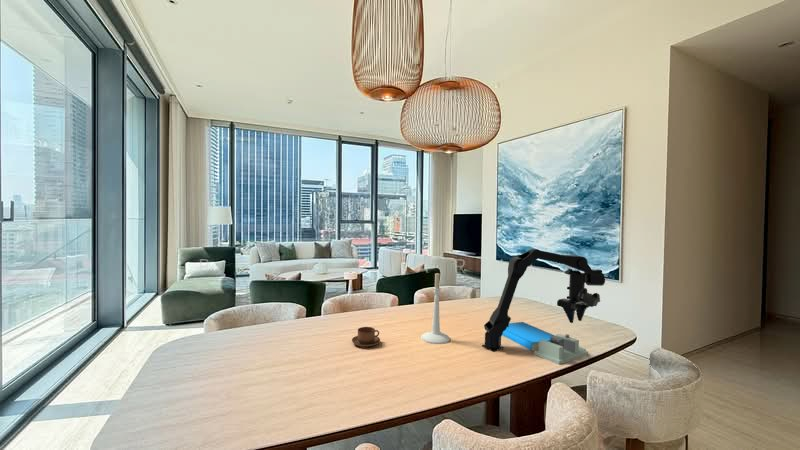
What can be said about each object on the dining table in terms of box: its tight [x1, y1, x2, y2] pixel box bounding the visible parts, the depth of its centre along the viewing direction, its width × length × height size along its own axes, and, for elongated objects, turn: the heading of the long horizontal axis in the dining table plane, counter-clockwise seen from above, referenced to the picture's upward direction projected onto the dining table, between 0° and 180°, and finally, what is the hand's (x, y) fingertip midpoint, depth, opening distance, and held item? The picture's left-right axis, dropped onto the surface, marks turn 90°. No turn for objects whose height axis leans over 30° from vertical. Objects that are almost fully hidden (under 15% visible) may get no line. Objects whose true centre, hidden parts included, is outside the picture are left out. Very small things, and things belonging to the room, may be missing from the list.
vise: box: [533, 339, 589, 365], centre depth 138 cm, size 20×11×6 cm, turn 122°
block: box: [550, 335, 564, 351], centre depth 137 cm, size 3×4×6 cm
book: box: [502, 321, 556, 352], centre depth 156 cm, size 17×4×25 cm
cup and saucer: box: [351, 326, 381, 348], centre depth 145 cm, size 12×12×6 cm
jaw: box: [555, 333, 580, 353], centre depth 140 cm, size 3×9×6 cm, turn 32°
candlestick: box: [420, 272, 451, 345], centre depth 152 cm, size 13×13×30 cm
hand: (575, 321), depth 143 cm, fingers open, 6 cm apart
